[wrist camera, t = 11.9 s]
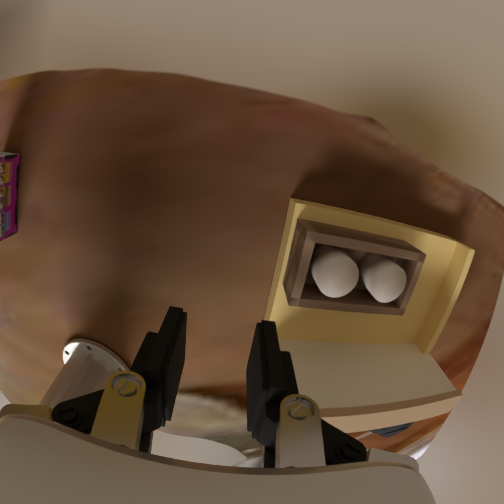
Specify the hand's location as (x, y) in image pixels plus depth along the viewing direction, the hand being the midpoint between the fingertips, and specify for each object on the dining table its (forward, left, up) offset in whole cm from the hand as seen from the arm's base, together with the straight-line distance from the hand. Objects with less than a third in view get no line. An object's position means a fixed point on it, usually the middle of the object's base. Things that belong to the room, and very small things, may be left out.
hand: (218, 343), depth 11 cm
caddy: (0, -11, -14) cm, 18 cm away
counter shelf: (-4, -16, -17) cm, 24 cm away
